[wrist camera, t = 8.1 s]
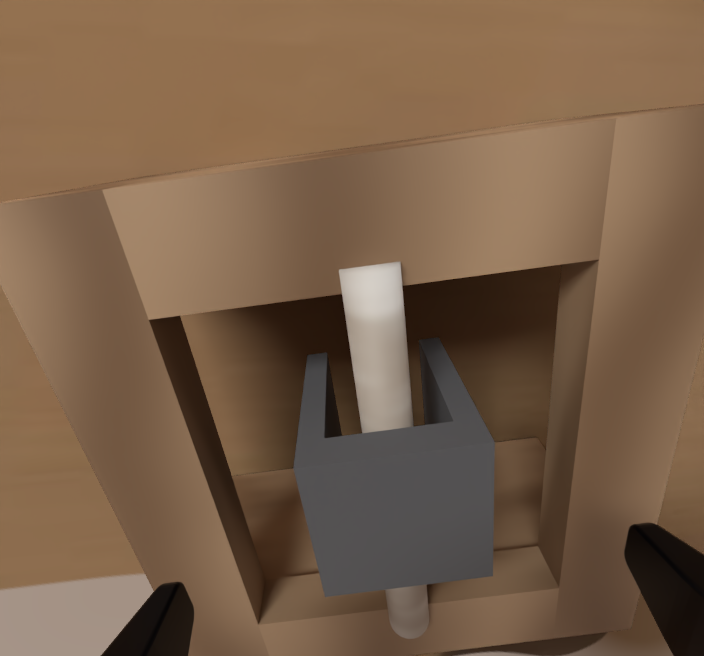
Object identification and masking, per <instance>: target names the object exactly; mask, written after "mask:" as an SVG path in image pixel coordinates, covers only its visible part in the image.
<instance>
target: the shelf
mask: <svg viewBox="0 0 704 656" xmlns="http://www.w3.org/2000/svg"><path fill="white" fill-rule="evenodd" d="M554 265H561V276H560V288H559V300H558V312H557V324H556V336H555V348H554V360H553V372H552V384H551V396H550V408H549V419H548V431H547V443H546V450H545V448H544V447H543V445H542V444H541V442H540V441H539V440H538V438H537V437H534V438H527V439H519V440H511V441H503V442H495V460H494V534H493V576H491V577H483V578H475V579H467V580H459V581H451V582H443V583H435V584H427V585H419V586H411V587H403V588H395V589H387V590H379V591H371V592H363V593H355V594H347V595H339V596H331V597H325V595H324V591H323V587H322V583H321V579H320V575H319V570H318V566H317V562H316V558H315V554H314V550H313V546H312V542H311V538H310V534H309V530H308V526H307V522H306V518H305V514H304V510H303V506H302V502H301V498H300V494H299V490H298V485H297V481H296V477H295V473H294V469H293V468H292V469H284V470H276V471H268V472H261V473H253V474H245V475H237V476H231V472H230V469H229V466H228V463H227V460H226V457H225V454H224V451H223V448H222V445H221V442H220V438H219V435H218V432H217V429H216V426H215V423H214V420H213V417H212V414H211V411H210V408H209V404H208V401H207V398H206V395H205V392H204V389H203V386H202V383H201V380H200V377H199V374H198V371H197V367H196V364H195V361H194V358H193V355H192V352H191V349H190V346H189V343H188V340H187V337H186V333H185V330H184V327H183V324H182V321H181V318H180V316H181V315H189V314H196V313H203V312H211V311H218V310H226V309H233V308H241V307H248V306H256V305H263V304H271V303H278V302H286V301H293V300H300V299H308V298H315V297H323V296H330V295H338V294H342V297H343V304H344V311H345V317H346V324H347V331H348V338H349V345H350V352H351V359H352V366H353V373H354V379H355V386H356V393H357V400H358V407H359V414H360V421H361V428H362V433H369V432H376V431H384V430H392V429H399V428H406V427H414V424H413V411H412V399H411V386H410V374H409V362H408V349H407V337H406V325H405V312H404V300H403V288H402V286H405V285H412V284H420V283H427V282H435V281H442V280H450V279H457V278H464V277H472V276H479V275H487V274H494V273H502V272H509V271H517V270H524V269H532V268H539V267H547V266H554ZM0 285H1V287H2V289H3V291H4V293H5V295H6V297H7V299H8V301H9V303H10V305H11V307H12V309H13V311H14V313H15V315H16V317H17V319H18V321H19V323H20V325H21V327H22V329H23V331H24V333H25V335H26V337H27V339H28V341H29V343H30V345H31V347H32V349H33V351H34V353H35V355H36V357H37V359H38V361H39V363H40V365H41V367H42V369H43V371H44V373H45V375H46V377H47V379H48V381H49V383H50V385H51V387H52V389H53V391H54V393H55V395H56V397H57V399H58V401H59V403H60V405H61V407H62V409H63V411H64V413H65V415H66V417H67V419H68V421H69V423H70V425H71V427H72V429H73V431H74V433H75V435H76V437H77V439H78V441H79V443H80V445H81V447H82V449H83V451H84V453H85V455H86V457H87V459H88V461H89V463H90V465H91V467H92V469H93V471H94V473H95V475H96V477H97V479H98V481H99V483H100V485H101V487H102V489H103V491H104V493H105V495H106V497H107V499H108V501H109V503H110V505H111V507H112V509H113V511H114V513H115V515H116V517H117V519H118V521H119V523H120V525H121V527H122V529H123V531H124V533H125V535H126V536H127V538H128V540H129V542H130V544H131V546H132V548H133V550H134V552H135V554H136V556H137V558H138V560H139V562H140V564H141V566H142V568H143V570H144V572H145V574H146V576H147V578H148V580H149V582H150V584H151V586H152V588H153V590H154V591H155V590H156V589H157V587H159V586H160V585H161V584H164V583H170V582H178V581H180V582H182V583H183V584H184V586H185V588H186V590H187V592H188V595H189V597H190V599H191V601H192V604H193V606H194V623H193V629H192V635H191V641H190V647H189V654H188V656H413V655H421V654H429V653H438V652H446V651H454V650H463V649H471V648H479V647H488V646H496V645H504V644H512V643H521V642H529V641H537V640H546V639H554V638H562V637H571V636H579V635H587V634H595V633H604V632H612V631H620V630H629V629H631V628H632V624H633V620H634V616H635V611H636V608H637V604H638V600H639V596H640V590H639V588H638V586H637V584H636V582H635V580H634V578H633V576H632V574H631V572H630V570H629V568H628V566H627V564H626V561H625V557H624V549H625V544H626V539H627V535H628V530H629V527H630V526H631V525H633V524H639V523H647V522H650V523H654V524H656V525H657V523H658V519H659V515H660V511H661V507H662V503H663V499H664V495H665V491H666V487H667V483H668V479H669V475H670V471H671V466H672V462H673V458H674V454H675V450H676V446H677V442H678V438H679V434H680V430H681V426H682V422H683V418H684V414H685V410H686V406H687V402H688V398H689V394H690V390H691V386H692V382H693V378H694V374H695V369H696V365H697V361H698V357H699V353H700V349H701V345H702V341H703V337H704V104H698V105H688V106H679V107H669V108H659V109H650V110H640V111H630V112H621V113H611V114H601V115H592V116H582V117H572V118H563V119H555V120H548V121H540V122H533V123H526V124H519V125H512V126H504V127H497V128H490V129H483V130H476V131H469V132H461V133H454V134H447V135H440V136H433V137H426V138H418V139H411V140H404V141H397V142H390V143H383V144H375V145H368V146H361V147H354V148H347V149H340V150H332V151H325V152H318V153H311V154H304V155H296V156H289V157H282V158H275V159H268V160H261V161H253V162H246V163H239V164H232V165H225V166H218V167H210V168H203V169H196V170H189V171H182V172H175V173H167V174H160V175H153V176H146V177H139V178H132V179H127V180H121V181H116V182H110V183H105V184H99V185H94V186H88V187H83V188H77V189H72V190H66V191H60V192H55V193H49V194H44V195H38V196H33V197H27V198H22V199H16V200H11V201H5V202H0Z"/></svg>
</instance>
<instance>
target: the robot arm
mask: <svg viewBox="0 0 704 656" xmlns="http://www.w3.org/2000/svg"><path fill="white" fill-rule="evenodd" d="M624 557H625V561H626V564H627V566H628V568H629V570H630V572H631V574H632V576H633V578H634V580H635V582H636V584H637V586H638V588H639V590H640V592H641V593H642V595H643V597H644V599H645V601H646V603H647V605H648V607H649V609H650V611H651V613H652V615H653V617H654V619H655V621H656V623H657V625H658V627H659V629H660V631H661V633H662V635H663V637H664V639H665V641H666V642H667V644H668V646H669V648H670V650H671V652H672V653H673V655H674V656H704V555H703V554H702V553H700V552H699V551H697V550H696V549H694V548H693V547H691V546H689V545H688V544H686V543H685V542H683V541H682V540H680V539H679V538H677V537H675V536H674V535H672V534H671V533H669V532H668V531H666V530H665V529H663V528H661V527H660V526H658V525H656V524H654V523H650V522H647V523H639V524H633V525H631V526H630V527H629V530H628V535H627V539H626V544H625V549H624ZM193 623H194V606H193V604H192V601H191V599H190V597H189V595H188V592H187V590H186V588H185V586H184V584H183V583H182V582H180V581H178V582H170V583H164V584H161V585H160V586H159V587H157V589H156V590H155V591H154V592H153V593H152V595H151V596H150V597H149V598H148V599H147V601H146V602H145V603H144V604H143V605H142V607H141V608H140V609H139V610H138V612H137V613H136V614H135V615H134V616H133V618H132V619H131V620H130V621H129V622H128V624H127V625H126V626H125V627H124V628H123V630H122V631H121V632H120V633H119V635H118V636H117V637H116V638H115V639H114V641H113V642H112V643H111V644H110V645H109V647H108V648H107V649H106V650H105V651H104V653H103V654H102V655H101V656H188V654H189V647H190V641H191V635H192V629H193Z"/></svg>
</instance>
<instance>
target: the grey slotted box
mask: <svg viewBox="0 0 704 656" xmlns="http://www.w3.org/2000/svg"><path fill="white" fill-rule="evenodd" d="M419 349H420V363H421V377H422V391H423V405H424V419H425V425H422V426H414V427H406V428H399V429H392V430H384V431H376V432H369V433H361V434H353V435H346V436H342V434H341V428H340V423H339V417H338V411H337V406H336V400H335V395H334V389H333V383H332V378H331V372H330V366H329V361H328V355H327V352H326V353H319V354H312V355H307V363H306V371H305V379H304V387H303V395H302V403H301V411H300V419H299V427H298V435H297V443H296V451H295V459H294V467H293V469H294V473H295V477H296V481H297V485H298V490H299V494H300V498H301V502H302V506H303V510H304V514H305V518H306V522H307V526H308V530H309V534H310V538H311V542H312V546H313V550H314V554H315V558H316V562H317V566H318V570H319V575H320V579H321V583H322V587H323V591H324V595H325V597H331V596H339V595H347V594H355V593H363V592H371V591H379V590H387V589H395V588H403V587H411V586H419V585H427V584H435V583H443V582H451V581H459V580H467V579H475V578H483V577H491V576H493V534H494V460H495V442H494V440H493V438H492V436H491V434H490V433H489V431H488V429H487V427H486V425H485V423H484V421H483V419H482V418H481V416H480V414H479V412H478V410H477V408H476V406H475V404H474V403H473V401H472V399H471V397H470V395H469V393H468V391H467V390H466V388H465V386H464V384H463V382H462V380H461V378H460V376H459V375H458V373H457V371H456V369H455V367H454V365H453V363H452V361H451V360H450V358H449V356H448V354H447V352H446V350H445V348H444V347H443V345H442V343H441V341H440V339H439V337H437V338H430V339H422V340H419Z"/></svg>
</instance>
